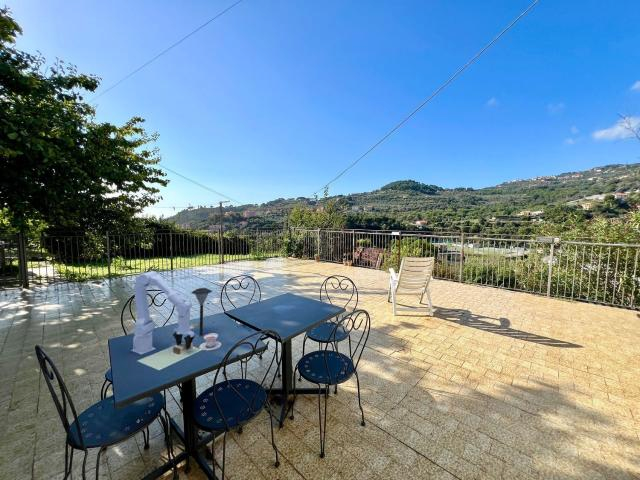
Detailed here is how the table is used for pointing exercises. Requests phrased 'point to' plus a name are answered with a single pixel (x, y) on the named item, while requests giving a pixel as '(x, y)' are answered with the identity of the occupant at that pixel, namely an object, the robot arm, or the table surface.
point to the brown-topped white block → (181, 348)
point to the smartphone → (194, 325)
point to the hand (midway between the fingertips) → (183, 346)
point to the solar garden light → (201, 303)
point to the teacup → (210, 342)
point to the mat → (166, 357)
